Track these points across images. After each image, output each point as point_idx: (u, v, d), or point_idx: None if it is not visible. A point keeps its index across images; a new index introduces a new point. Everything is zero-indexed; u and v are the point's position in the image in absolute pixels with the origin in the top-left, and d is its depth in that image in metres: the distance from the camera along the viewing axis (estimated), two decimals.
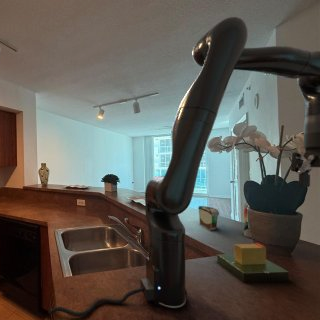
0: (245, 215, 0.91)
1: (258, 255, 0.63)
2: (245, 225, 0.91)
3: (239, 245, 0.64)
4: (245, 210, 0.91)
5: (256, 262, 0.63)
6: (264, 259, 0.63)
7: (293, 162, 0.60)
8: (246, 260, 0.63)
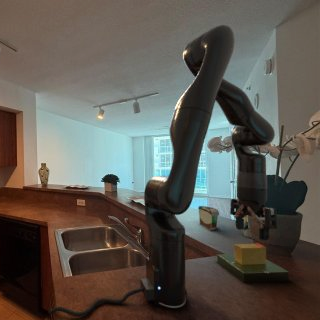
0: None
1: (258, 255, 0.63)
2: (245, 225, 0.91)
3: (239, 245, 0.64)
4: None
5: (256, 262, 0.63)
6: (264, 259, 0.63)
7: (231, 207, 0.70)
8: (246, 260, 0.63)
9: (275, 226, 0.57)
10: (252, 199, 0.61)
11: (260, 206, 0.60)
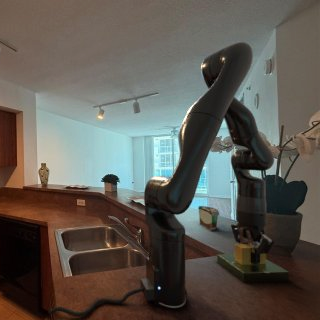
0: None
1: None
2: None
3: (239, 245, 0.64)
4: None
5: None
6: (264, 259, 0.63)
7: (234, 233, 0.69)
8: (246, 260, 0.63)
9: (266, 252, 0.60)
10: (251, 224, 0.61)
11: (260, 233, 0.60)
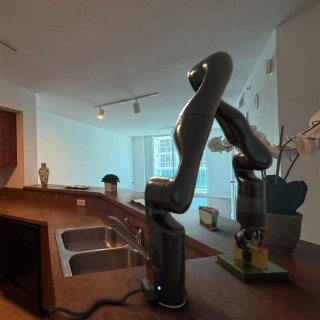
0: None
1: (253, 256, 0.62)
2: None
3: None
4: None
5: None
6: (260, 263, 0.60)
7: None
8: (238, 255, 0.66)
9: (244, 249, 0.62)
10: (236, 219, 0.65)
11: (240, 229, 0.63)
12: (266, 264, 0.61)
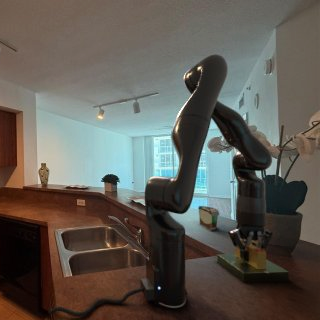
0: None
1: (250, 256, 0.63)
2: None
3: None
4: None
5: None
6: (255, 263, 0.61)
7: None
8: (239, 254, 0.67)
9: (238, 247, 0.63)
10: None
11: (236, 227, 0.65)
12: (264, 265, 0.60)
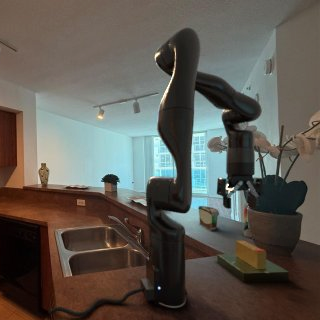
0: (245, 215, 0.91)
1: (250, 256, 0.63)
2: (245, 225, 0.91)
3: (241, 241, 0.68)
4: (245, 210, 0.91)
5: (248, 261, 0.63)
6: (255, 263, 0.61)
7: None
8: (239, 254, 0.67)
9: (221, 193, 0.66)
10: (226, 171, 0.69)
11: None
12: (264, 265, 0.60)
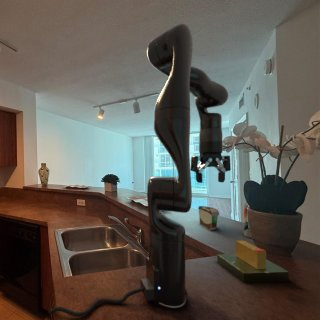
0: (245, 215, 0.91)
1: (250, 256, 0.63)
2: (245, 225, 0.91)
3: (241, 241, 0.68)
4: (245, 210, 0.91)
5: (248, 261, 0.63)
6: (255, 263, 0.61)
7: None
8: (239, 254, 0.67)
9: (193, 169, 0.74)
10: (199, 151, 0.77)
11: (199, 156, 0.76)
12: (264, 265, 0.60)
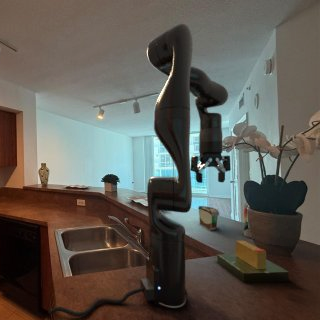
0: (245, 215, 0.91)
1: (250, 256, 0.63)
2: (245, 225, 0.91)
3: (241, 241, 0.68)
4: (245, 210, 0.91)
5: (248, 261, 0.63)
6: (255, 263, 0.61)
7: None
8: (239, 254, 0.67)
9: (193, 169, 0.74)
10: (199, 151, 0.77)
11: (199, 156, 0.76)
12: (264, 265, 0.60)
